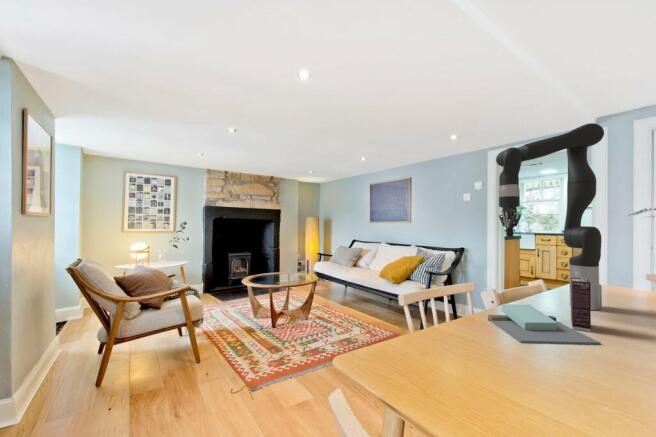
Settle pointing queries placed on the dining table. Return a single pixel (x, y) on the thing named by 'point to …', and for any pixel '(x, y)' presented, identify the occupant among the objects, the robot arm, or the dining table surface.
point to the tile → (528, 317)
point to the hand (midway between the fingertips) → (509, 236)
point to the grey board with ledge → (541, 332)
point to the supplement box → (581, 304)
